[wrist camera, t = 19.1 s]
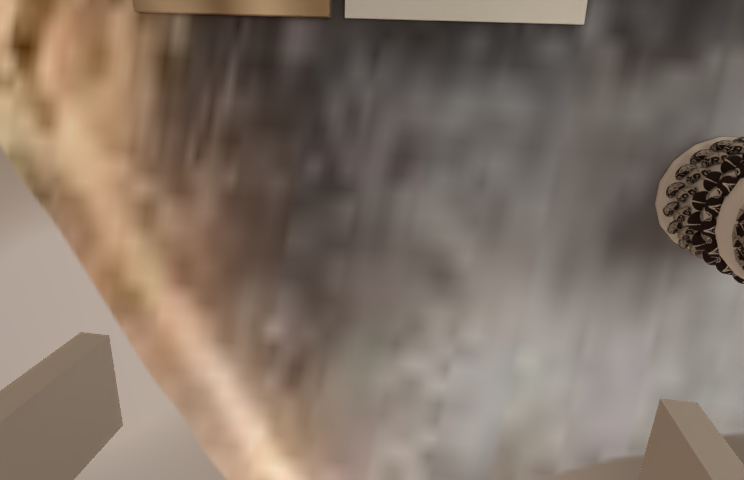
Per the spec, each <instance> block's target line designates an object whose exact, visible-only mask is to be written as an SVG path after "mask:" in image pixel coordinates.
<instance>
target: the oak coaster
mask: <svg viewBox="0 0 744 480" xmlns="http://www.w3.org/2000/svg"><path fill="white" fill-rule="evenodd" d="M133 5H134V11H136V12H140V13H170V14H206V15H242V16H279V17H315V18H331V0H133Z"/></svg>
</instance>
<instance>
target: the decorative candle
mask: <svg viewBox="0 0 744 480" xmlns="http://www.w3.org/2000/svg"><path fill="white" fill-rule="evenodd" d="M655 207H656V212H657V216H658V220H659V225H660V226H661V227H662V229H663V230H664V231H665V232H666V233H667V235H668V236H669V237H670V238H671V240H672V241H673V242H675V243H677V244H679V246H680V247H681V248H682V249H684V248H687V249H689V252H690V253H691V255H693V256H697V257H699V258H703V259H704V261H705V262H706V263H707V264H709V265H716V267H717V269H718V270H719V271H720V272H721V273H723V274H728V275H733V277H734V279H735V280H736V281H737V282H739V283H742V284H744V137H741V138H738V137H717V138H714V139H711V140H708V141H705V142H701V143H698V144H695V145H693V146H692V147H691V148H689V149H688V150H687V151H685V152H684V153H683V154H681V155H680V156H679V157H677V158H676V159H675V160H673V162H672V163H671V165H670V166H669V168H668V169H667V171H666V172H665V174H664V175H663V177H662V178H661V180H660V181H659V186H658V191H657V196H656V201H655Z"/></svg>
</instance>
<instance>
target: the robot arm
mask: <svg viewBox="0 0 744 480" xmlns="http://www.w3.org/2000/svg"><path fill="white" fill-rule="evenodd" d="M122 426H123V423H122V417H121V410H120V404H119V398H118V391H117V384H116V378H115V371H114V365H113V358H112V352H111V345H110V339H109V335H100V334H91V333H82V332H81V333H80V334H78V335H77V336H75V337H74V338H73V339H71V340H70V341H68V342H67V343H66V344H64V345H63V346H62V347H60V348H59V349H57V350H56V351H55V352H53V353H52V354H51V355H49V356H48V357H47V358H45V359H44V360H42V361H41V362H40V363H38V364H37V365H36V366H34V367H33V368H32V369H30V370H29V371H27V372H26V373H25V374H23V375H22V376H20V377H19V378H18V379H16V380H15V381H13V382H12V383H11V384H9V385H8V386H7V387H5V388H4V389H2V390H1V391H0V480H74V479H75V478H76V476H77V475H78V474H79V473H80V472H81V471H82V470H83V469H84V467H86V465H87V464H88V463H89V462H90V461H91V460H92V459H93V458H94V457H95V455H96V454H97V453H98V452H99V451H100V450H101V449H102V448H103V447H104V445H105V444H106V443H107V442H108V441H109V440H110V439H111V438H112V437H113V435H114V434H115V433H116V432H117V431H118V430H119V429H120V428H121V427H122ZM638 480H744V465H743V464H742V462H741V461H740V460H739V458H738V457H737V456H736V455H735V453H734V452H733V450H732V449H731V448H730V446H729V445H728V444H727V442H726V441H725V440H724V438H723V437H722V436H721V434H720V433H719V432H718V430H717V429H716V427H715V426H714V425H713V423H712V422H711V421H710V419H709V418H708V417H707V415H706V414H705V413H704V411H703V410H702V409H701V407H700V406H699V405H698V403H694V402H685V401H676V400H667V399H660V401H659V405H658V409H657V412H656V416H655V419H654V423H653V427H652V430H651V434H650V437H649V441H648V445H647V448H646V452H645V456H644V459H643V463H642V467H641V470H640V474H639V477H638Z"/></svg>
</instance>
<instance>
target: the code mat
mask: <svg viewBox="0 0 744 480" xmlns="http://www.w3.org/2000/svg"><path fill="white" fill-rule="evenodd" d="M587 1H588V0H345V18H351V19H387V20H423V21H459V22H495V23H531V24H567V25H584V21H585V15H586V8H587Z"/></svg>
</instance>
